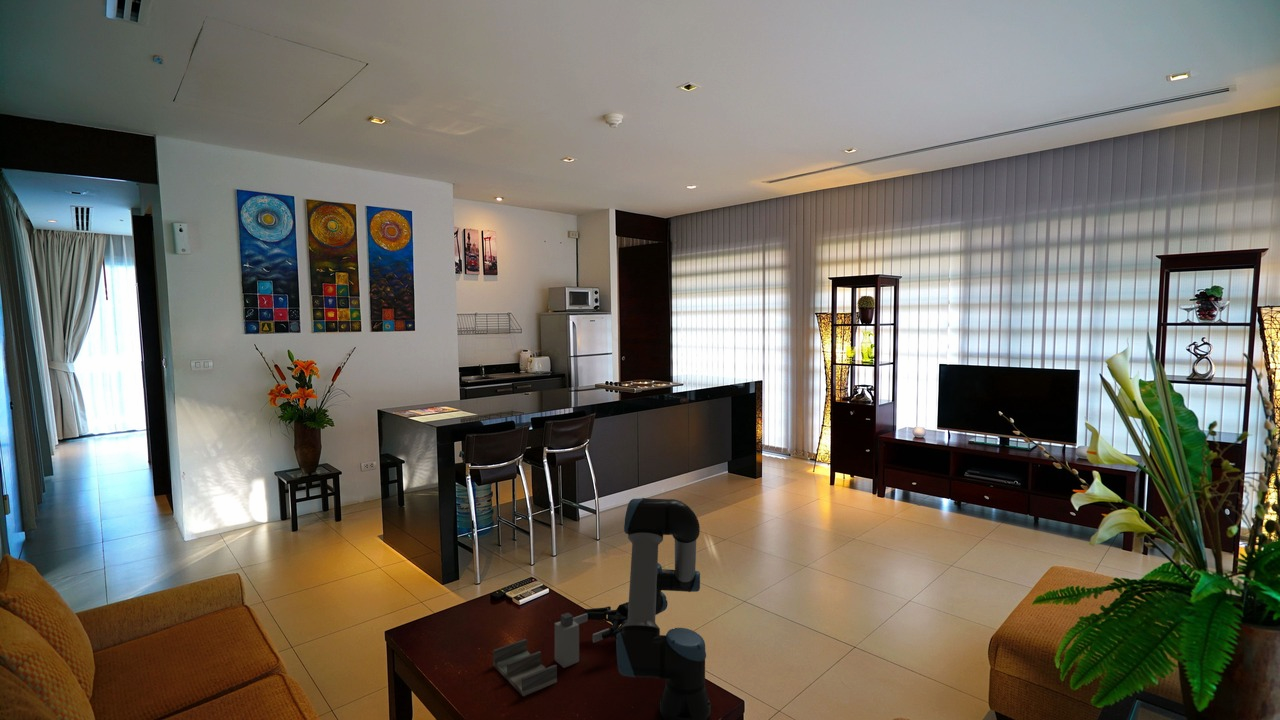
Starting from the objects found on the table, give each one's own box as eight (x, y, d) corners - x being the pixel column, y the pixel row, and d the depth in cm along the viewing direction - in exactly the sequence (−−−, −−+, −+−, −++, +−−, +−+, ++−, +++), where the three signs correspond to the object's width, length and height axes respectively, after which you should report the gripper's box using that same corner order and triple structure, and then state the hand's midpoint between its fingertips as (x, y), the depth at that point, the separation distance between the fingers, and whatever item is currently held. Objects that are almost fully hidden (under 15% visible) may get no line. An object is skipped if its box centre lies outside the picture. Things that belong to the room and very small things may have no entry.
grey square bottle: (579, 661, 206) (579, 616, 205) (563, 668, 203) (563, 621, 202) (569, 654, 211) (569, 609, 210) (554, 660, 207) (554, 614, 206)
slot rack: (556, 682, 195) (556, 665, 194) (523, 696, 187) (523, 679, 187) (525, 653, 211) (525, 638, 211) (493, 665, 204) (493, 650, 203)
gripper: (652, 636, 214) (602, 656, 201) (611, 609, 234) (563, 626, 221) (652, 615, 214) (602, 634, 201) (611, 590, 233) (563, 606, 220)
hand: (582, 630), depth 211 cm, fingers open, 13 cm apart
